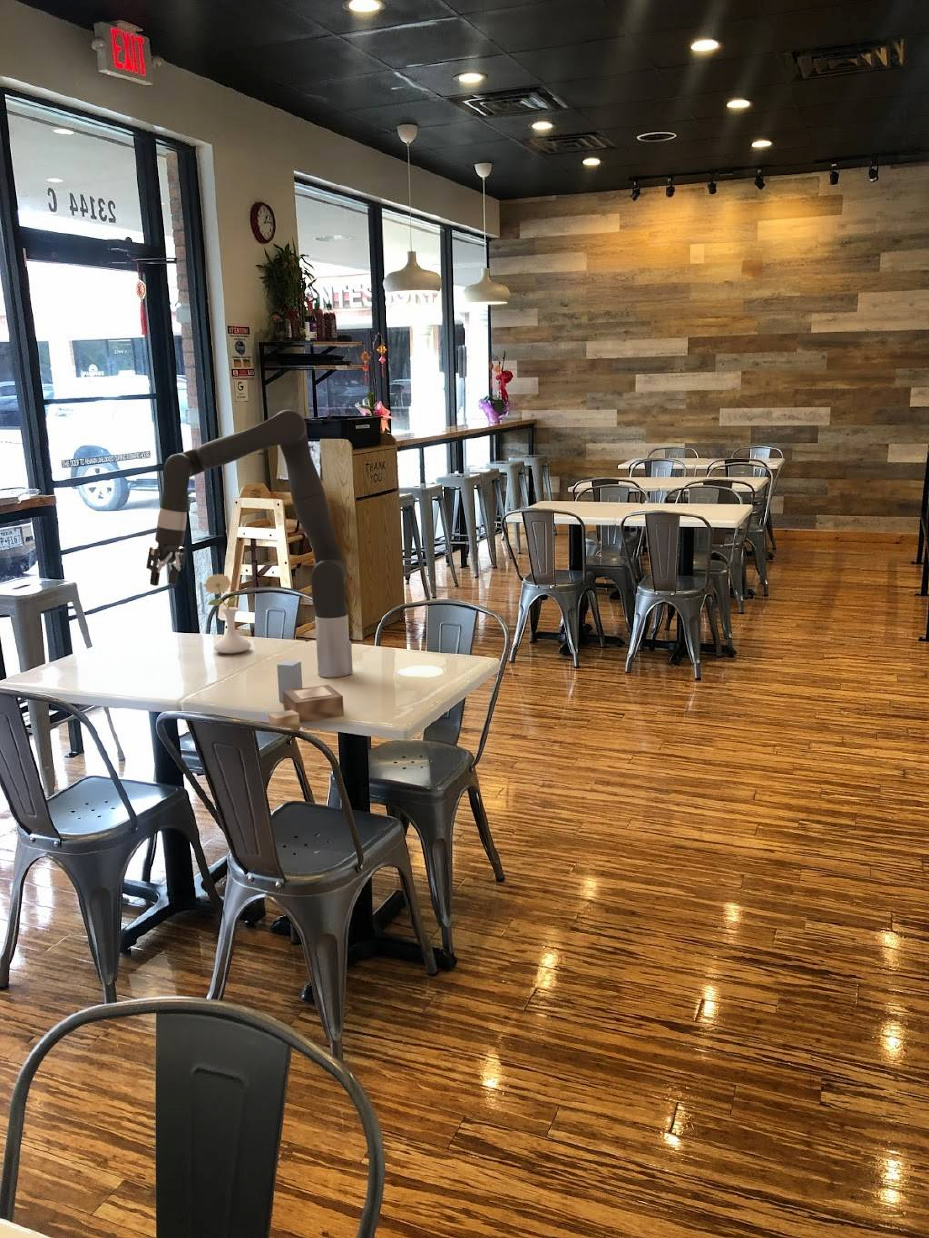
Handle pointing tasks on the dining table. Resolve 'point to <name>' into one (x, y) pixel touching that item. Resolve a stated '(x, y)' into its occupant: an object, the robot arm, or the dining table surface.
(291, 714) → the oak block
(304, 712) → the plinth
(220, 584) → the flower in vase
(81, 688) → the dining table surface
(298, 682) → the pillar
